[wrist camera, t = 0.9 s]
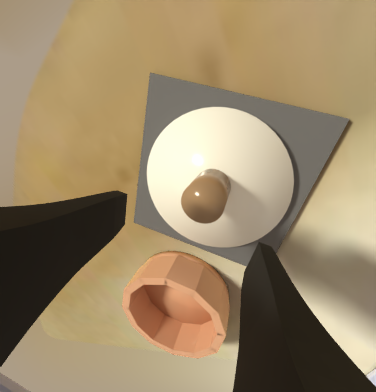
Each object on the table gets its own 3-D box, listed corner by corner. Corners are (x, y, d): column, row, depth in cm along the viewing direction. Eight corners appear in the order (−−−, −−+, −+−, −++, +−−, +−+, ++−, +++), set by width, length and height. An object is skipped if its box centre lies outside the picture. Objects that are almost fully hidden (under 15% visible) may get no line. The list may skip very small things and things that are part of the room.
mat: (347, 118, 13) (349, 118, 13) (264, 270, 19) (264, 273, 19) (152, 73, 16) (150, 72, 15) (135, 220, 22) (133, 222, 22)
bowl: (242, 275, 20) (239, 310, 17) (214, 335, 25) (207, 371, 22) (147, 237, 22) (126, 261, 19) (137, 299, 27) (120, 327, 24)
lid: (324, 130, 13) (348, 139, 10) (258, 261, 19) (258, 298, 15) (160, 90, 16) (130, 85, 12) (143, 218, 21) (119, 240, 17)
